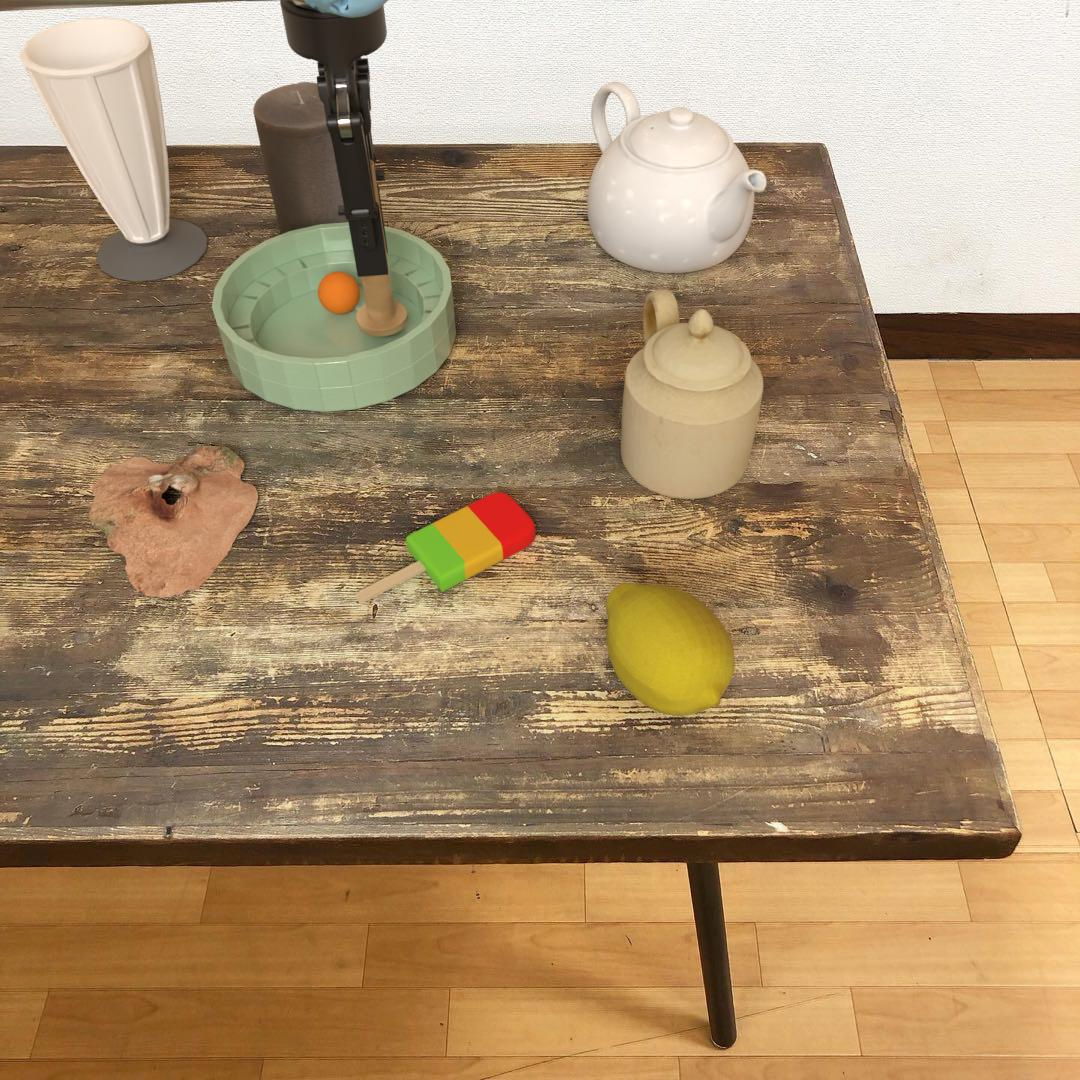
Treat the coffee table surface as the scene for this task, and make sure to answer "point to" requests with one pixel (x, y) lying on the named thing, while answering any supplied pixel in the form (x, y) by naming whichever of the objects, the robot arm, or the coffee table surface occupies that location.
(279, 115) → the pillar candle
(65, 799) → the coffee table surface
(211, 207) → the coffee table surface
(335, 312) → the ball
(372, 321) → the stick
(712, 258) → the teapot
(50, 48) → the cup
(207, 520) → the clay slab
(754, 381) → the sugar bowl
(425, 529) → the popsicle
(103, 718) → the coffee table surface
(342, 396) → the bowl
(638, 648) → the lemon
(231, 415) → the coffee table surface
